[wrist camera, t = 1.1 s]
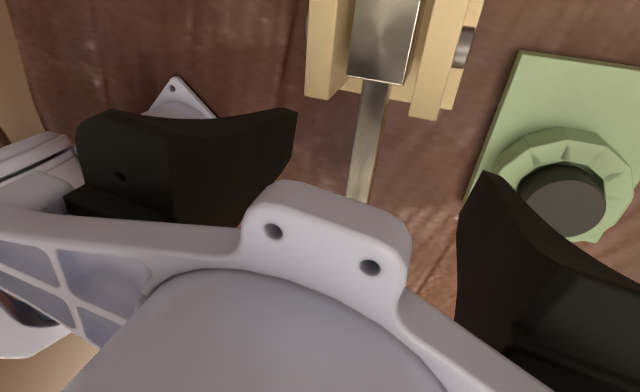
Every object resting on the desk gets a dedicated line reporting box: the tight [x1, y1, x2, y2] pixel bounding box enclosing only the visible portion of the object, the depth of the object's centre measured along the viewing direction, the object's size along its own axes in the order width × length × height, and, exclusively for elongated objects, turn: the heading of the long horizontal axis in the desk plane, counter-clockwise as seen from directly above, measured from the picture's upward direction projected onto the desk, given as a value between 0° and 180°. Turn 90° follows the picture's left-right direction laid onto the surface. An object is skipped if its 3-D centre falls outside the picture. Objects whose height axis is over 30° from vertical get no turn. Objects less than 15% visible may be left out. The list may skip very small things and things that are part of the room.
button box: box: [462, 50, 640, 243], centre depth 20 cm, size 10×8×3 cm
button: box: [519, 165, 606, 238], centre depth 19 cm, size 4×4×2 cm
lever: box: [345, 0, 426, 205], centre depth 16 cm, size 12×5×2 cm, turn 175°
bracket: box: [304, 0, 485, 121], centre depth 16 cm, size 9×7×10 cm
